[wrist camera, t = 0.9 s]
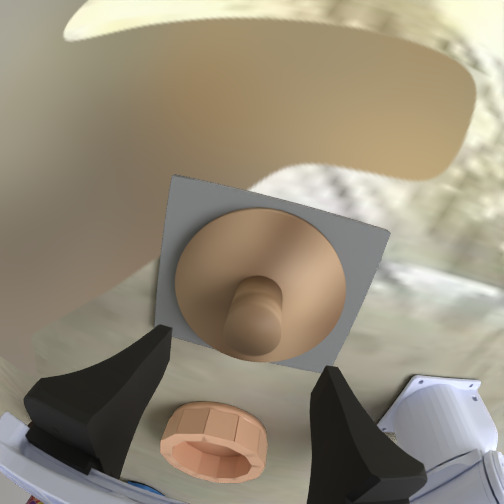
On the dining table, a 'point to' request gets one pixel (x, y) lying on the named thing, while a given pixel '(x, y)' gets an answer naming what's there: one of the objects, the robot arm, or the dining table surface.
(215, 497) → the dining table surface
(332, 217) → the mat
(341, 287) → the lid
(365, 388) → the dining table surface
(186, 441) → the bowl
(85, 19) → the dining table surface
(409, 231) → the dining table surface
